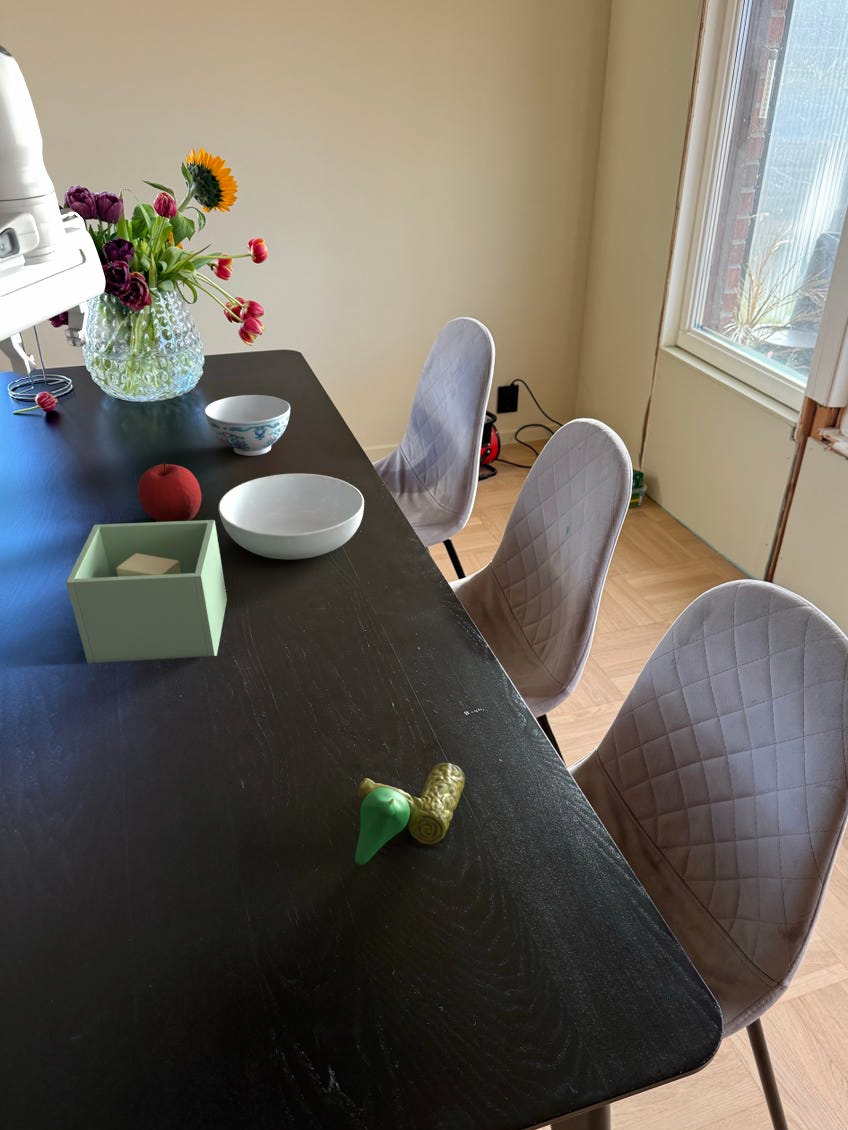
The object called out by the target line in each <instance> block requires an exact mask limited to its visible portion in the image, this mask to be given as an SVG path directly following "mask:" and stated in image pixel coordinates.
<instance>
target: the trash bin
mask: <svg viewBox="0 0 848 1130" xmlns="http://www.w3.org/2000/svg"><path fill="white" fill-rule="evenodd" d="M219 546H220V545H219V541H218V532H217V527H216V521H215V519H205V520H190V521H176V522H158V521H155V522H153V521H151V522H130V523H129V522H127V523H105V524H103V523H102V524H94V525H93V526H92V529H90V533H89V535H88V536H87V539H86V540H85V543H84V545H83V546H82V549H81V551H80V553H79V555H78V557H77V559H76V561H75V562H74V565H73V567H72V569H71V571H70V573H69V576H68V578H67V579H66V581H65V586H66V588H67V592H68V596H69V600H70V603H71V607H72V612H73V614H74V618H75V621H76V626H77V630H78V634H79V637H80V640H81V645H82V649H83V651H84V656H85V659H86V663H87V664H100V663H117V662H119V663H120V662H134V661H135V662H136V661H153V660H169V659H170V660H171V659H185V658H187V659H188V658H200V657H203V658H205V657H218V652H219V651H218V650H219V647H220V640H221V634H222V629H223V623H224V618H225V613H226V608H227V602H228V598H227V597H228V596H227V592H226V586H225V585H226V584H225V579H224V578H225V577H224V572H223V565H222V559H221V553H220V547H219ZM136 553H138V554H144V555H150V556H155V557H161V558H167V559H172V560H178V561H179V564H180V570H181V574H167V575H146V576H124V577H118V573H117V569H116V568H117V567H118V566H119V565H121V564H122V563H123V562H125V561H126V560H127V559H129V558H130V557H131V556H133V555H134V554H136Z"/></svg>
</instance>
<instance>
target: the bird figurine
mask: <svg viewBox="0 0 848 1130" xmlns="http://www.w3.org/2000/svg"><path fill="white" fill-rule="evenodd" d="M465 786H466V776H465V774H464V772H463V770H462V769H461V768H460V767H459V766H458V765H456V764H453V763H450V762H442V763H441V762H440V763H438V764H436V765H435V766H433V768H432V769H431V771H430V773H428V776H427V779H426V781H425V784H424V786H423V789H422V791H421V793H420V795H419V797H416V796H413V795H410V794H409V793H408V792H405V791H404V790H402V789H400V788H397V787H395V786H391V785H387V784H383V783H378V782H377V783H376V782H375V781H373V780H372V779H370V778H368V777H367V778H363V780H362V781H361V782H360V784H359V787H358V792H357V794H358V797H359V798H360V799H363V800H362V802H361V804H360V805H361V806H360V810H359V817H360V818H359V819H360V825H359V836H358V840H357V845H356V850H355V856H354V863H356V865H359V866H363V865H365V864H367V863H368V861H370V860H371V859H372V858H373V857H374V856H375V855H376V853H377V852H378V851H379V850H380V849H381V848H382V847H383V846H384V845H386V843H388V842H389V841H390V840H391V839H392V838H394V837H395V836H397V834H399V833H400V832H402V831H403V830H404V829H405V828H406V826H407V828H408V831H409V833H410V835H411V837H412V838H414V839H415V840H417V842H419V843H421V844H423V845H435V844H437V843H439V842H440V841H442V840H443V839H444V837H445V836H446V832H447V831H448V828H449V826H450V823H451V821H452V819H453V816H454V811H455V810H456V808H457V806H458V804H459V801H460V799H461V796H462V792H463V790H464V788H465Z"/></svg>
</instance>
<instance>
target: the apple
mask: <svg viewBox="0 0 848 1130" xmlns="http://www.w3.org/2000/svg"><path fill="white" fill-rule="evenodd" d="M137 496H138V501H139V503H140V505H141V507H142V508H143V510H144V512H145V513H146V514H147V515H148V516H149V518H151V519H152V520H154V521H155V522H176V521H192V519H193V518H195V516H196V515H197V513H198V512H199V510H200V507H201V504H202V492H201V487H200V484H199V482H198V479H197V478H196V477H195V475H194V474H193V473H192V471H190V470H189V469H187V468H186V467H184V466H181V465H176V464H170V463H169V464H168V463H167V462H166V460H164V461H162V463H160V464H158V465H154V466H153V467H150V468H149V469H148V470H146V471H145V472H144V473H143V474H142V475H141V476H140V478H139V481H138V485H137Z"/></svg>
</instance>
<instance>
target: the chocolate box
mask: <svg viewBox="0 0 848 1130" xmlns="http://www.w3.org/2000/svg"><path fill="white" fill-rule="evenodd" d="M116 569H117V573H118V577H124V576H146V575H167V574H181V570H180V564H179V561H178V560H172V559H167V558H161V557H155V556H150V555H144V554H138V553H136V554H134V555H133V556H131V557H130V558H129V559H127V560H126V561H125V562H123V563H122V564H121V565H119V566H118V567H117V568H116Z"/></svg>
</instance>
